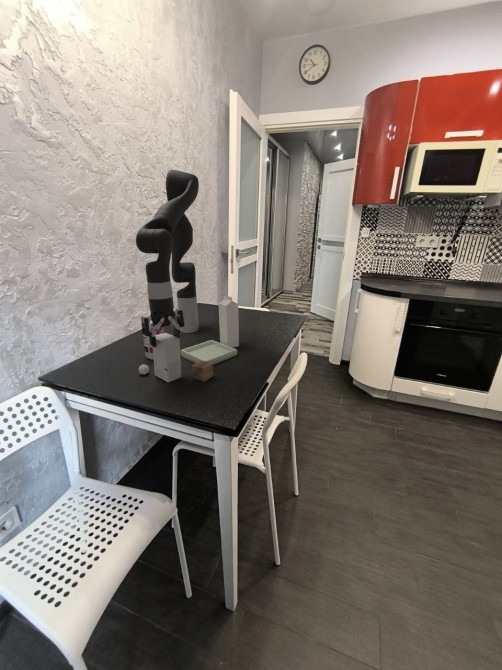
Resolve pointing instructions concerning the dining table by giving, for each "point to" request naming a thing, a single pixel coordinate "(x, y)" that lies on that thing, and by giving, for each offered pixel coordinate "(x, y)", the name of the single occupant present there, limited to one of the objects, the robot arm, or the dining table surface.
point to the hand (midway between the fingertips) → (165, 343)
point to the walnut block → (202, 370)
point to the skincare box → (167, 357)
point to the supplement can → (147, 343)
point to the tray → (209, 352)
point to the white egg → (143, 369)
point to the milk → (228, 322)
